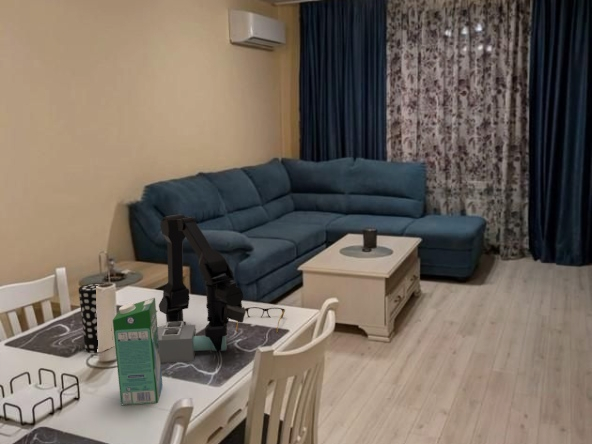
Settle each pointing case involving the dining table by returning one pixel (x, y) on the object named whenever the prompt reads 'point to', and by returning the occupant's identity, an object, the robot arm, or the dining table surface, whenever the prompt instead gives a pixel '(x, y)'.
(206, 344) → the cartridge
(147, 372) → the milk carton
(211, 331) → the robot arm
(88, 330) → the spotted tube
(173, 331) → the plunger
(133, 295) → the dining table surface
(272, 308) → the eyeglasses
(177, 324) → the plunger
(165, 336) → the housing
